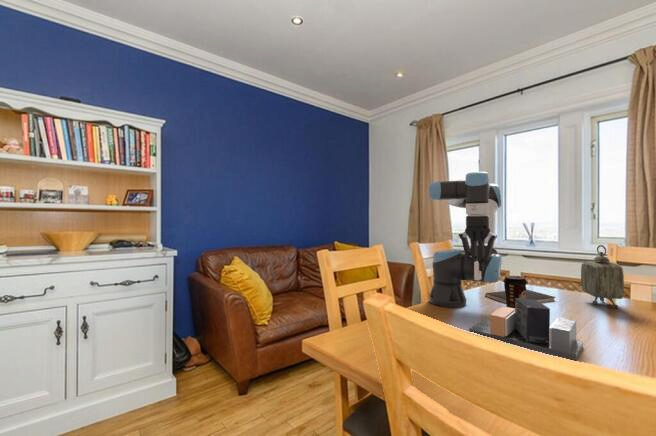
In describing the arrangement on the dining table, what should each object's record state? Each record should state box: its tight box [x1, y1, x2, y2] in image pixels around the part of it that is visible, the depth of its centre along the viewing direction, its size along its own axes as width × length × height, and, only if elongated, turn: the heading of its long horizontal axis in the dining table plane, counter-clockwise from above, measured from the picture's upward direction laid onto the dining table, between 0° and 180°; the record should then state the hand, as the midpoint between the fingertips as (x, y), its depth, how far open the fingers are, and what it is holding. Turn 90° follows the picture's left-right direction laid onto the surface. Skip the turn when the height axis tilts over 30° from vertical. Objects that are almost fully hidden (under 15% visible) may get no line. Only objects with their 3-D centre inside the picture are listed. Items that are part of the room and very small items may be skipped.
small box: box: [515, 298, 551, 344], centre depth 96 cm, size 11×6×10 cm, turn 166°
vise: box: [468, 316, 584, 362], centre depth 98 cm, size 28×12×8 cm, turn 45°
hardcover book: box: [484, 288, 556, 304], centre depth 144 cm, size 16×23×2 cm
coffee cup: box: [502, 275, 529, 309], centre depth 129 cm, size 9×8×13 cm
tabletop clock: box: [580, 244, 625, 309], centre depth 132 cm, size 14×9×25 cm, turn 162°
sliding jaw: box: [489, 306, 515, 337], centre depth 102 cm, size 5×12×6 cm, turn 135°
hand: (477, 279), depth 116 cm, fingers closed
